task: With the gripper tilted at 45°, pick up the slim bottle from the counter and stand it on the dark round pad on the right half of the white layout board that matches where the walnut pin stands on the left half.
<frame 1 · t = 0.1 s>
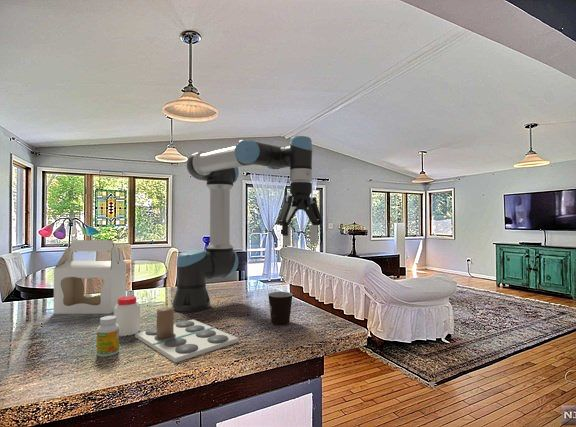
hand: (300, 244, 114), 28 cm above the kitchen island, tool pointing down, fingers open, 13 cm apart
gable box: (91, 309, 135), on the kitchen island
supplement bottle: (107, 353, 92), on the kitchen island
pill bottle: (126, 332, 108), on the kitchen island
coffee mug: (281, 321, 120), on the kitchen island
layout board: (185, 339, 102), on the kitchen island
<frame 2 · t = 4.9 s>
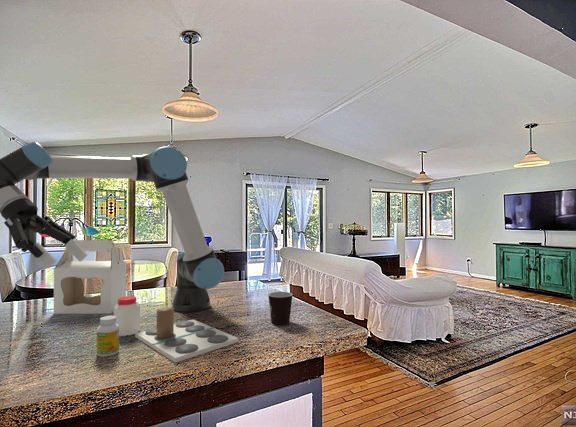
hand: (69, 261, 92), 25 cm above the kitchen island, tool tilted 45°, fingers open, 13 cm apart
nothing on the kitchen island moved.
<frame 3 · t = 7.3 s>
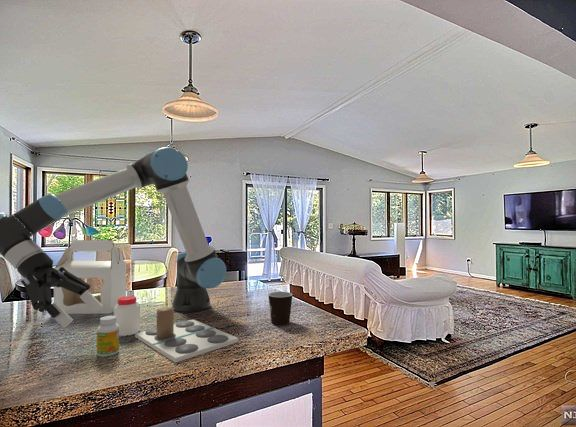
hand: (85, 316, 91), 10 cm above the kitchen island, tool tilted 45°, fingers open, 13 cm apart
nothing on the kitchen island moved.
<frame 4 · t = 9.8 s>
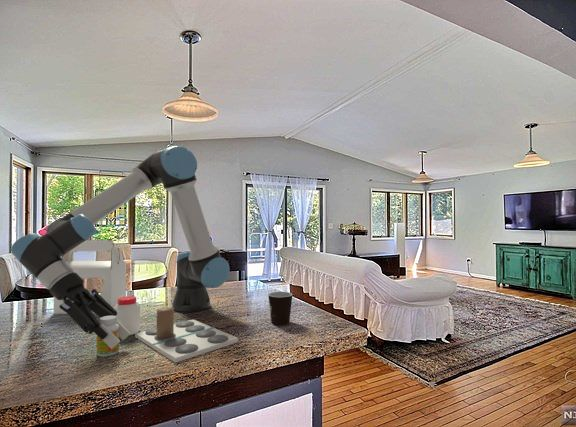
hand: (121, 340, 92), 3 cm above the kitchen island, tool tilted 45°, fingers closed on supplement bottle, 5 cm apart
supplement bottle: (107, 353, 92), on the kitchen island, touching gripper
everything else where it was.
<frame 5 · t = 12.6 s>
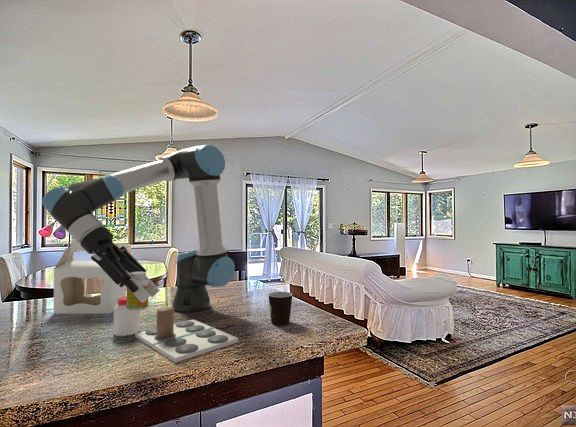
hand: (151, 296, 90), 16 cm above the kitchen island, tool tilted 45°, fingers closed on supplement bottle, 5 cm apart
supplement bottle: (137, 309, 90), point 12 cm above the kitchen island, touching gripper
everything else where it was.
when the fingers open (6 cm above the kitchen island, at t = 15.7 s): supplement bottle drops 1 cm, resting on layout board.
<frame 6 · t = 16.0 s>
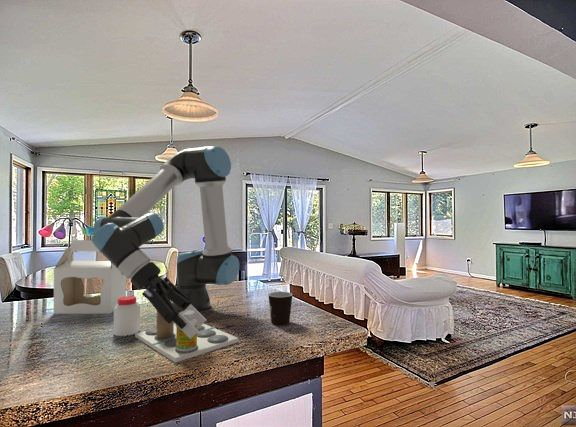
hand: (198, 328, 91), 7 cm above the kitchen island, tool tilted 45°, fingers open, 8 cm apart
supplement bottle: (186, 348, 91), point 1 cm above the kitchen island, touching layout board
everything else where it was.
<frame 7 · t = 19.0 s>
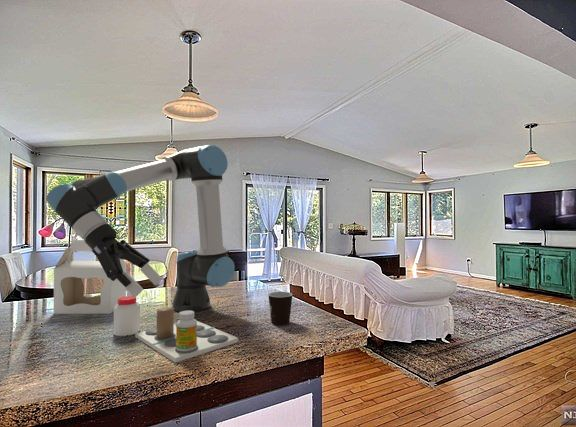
hand: (150, 287, 92), 18 cm above the kitchen island, tool tilted 45°, fingers open, 13 cm apart
nothing on the kitchen island moved.
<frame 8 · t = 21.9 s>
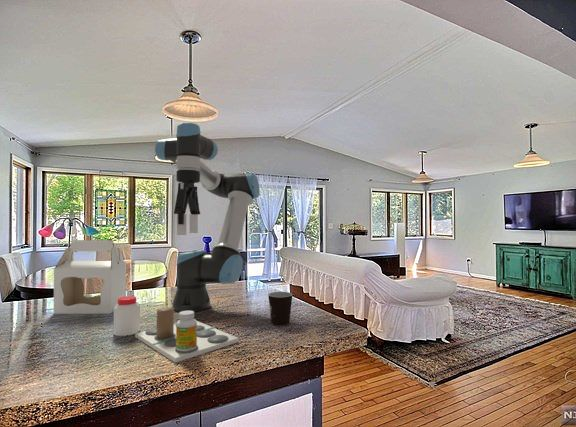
hand: (188, 234, 111), 32 cm above the kitchen island, tool pointing down, fingers open, 13 cm apart
nothing on the kitchen island moved.
at the end: supplement bottle 0.1 cm from the target spot on the layout board, point 1.3 cm above the layout board's base; supplement bottle tilted 0°; the gripper is holding nothing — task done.
